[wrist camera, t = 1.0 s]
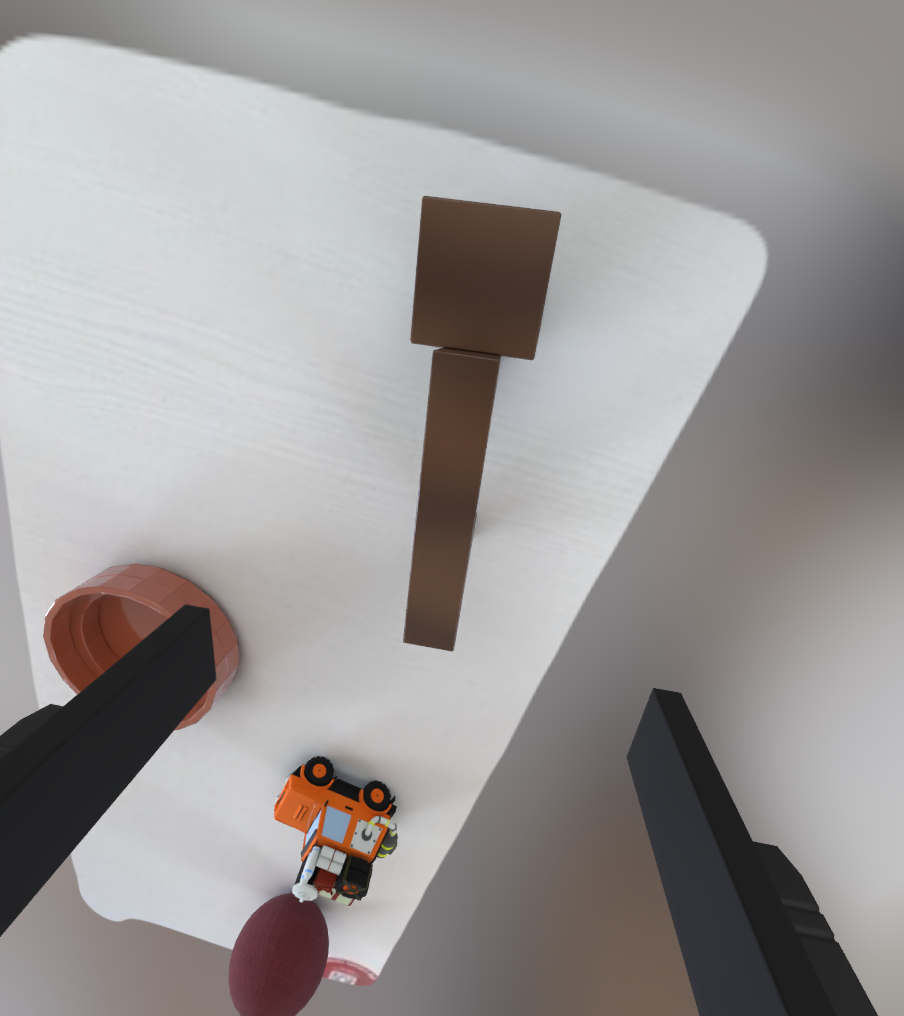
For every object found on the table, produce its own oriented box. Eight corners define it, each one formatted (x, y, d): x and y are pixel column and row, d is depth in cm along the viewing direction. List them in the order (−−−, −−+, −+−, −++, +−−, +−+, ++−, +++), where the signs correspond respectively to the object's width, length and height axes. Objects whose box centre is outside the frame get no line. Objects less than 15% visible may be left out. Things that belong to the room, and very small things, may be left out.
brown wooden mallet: (490, 540, 32) (481, 657, 20) (422, 529, 32) (375, 637, 21) (542, 255, 25) (570, 194, 13) (453, 244, 25) (409, 175, 14)
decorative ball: (290, 862, 49) (241, 984, 40) (358, 907, 51) (325, 1034, 42) (244, 892, 53) (188, 1011, 44) (309, 933, 55) (269, 1056, 45)
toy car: (391, 831, 45) (366, 941, 37) (282, 786, 45) (232, 889, 36) (416, 791, 43) (394, 902, 34) (301, 744, 42) (250, 844, 34)
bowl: (73, 547, 36) (24, 572, 33) (237, 576, 35) (206, 605, 32) (104, 679, 42) (65, 713, 38) (247, 707, 41) (221, 745, 37)
